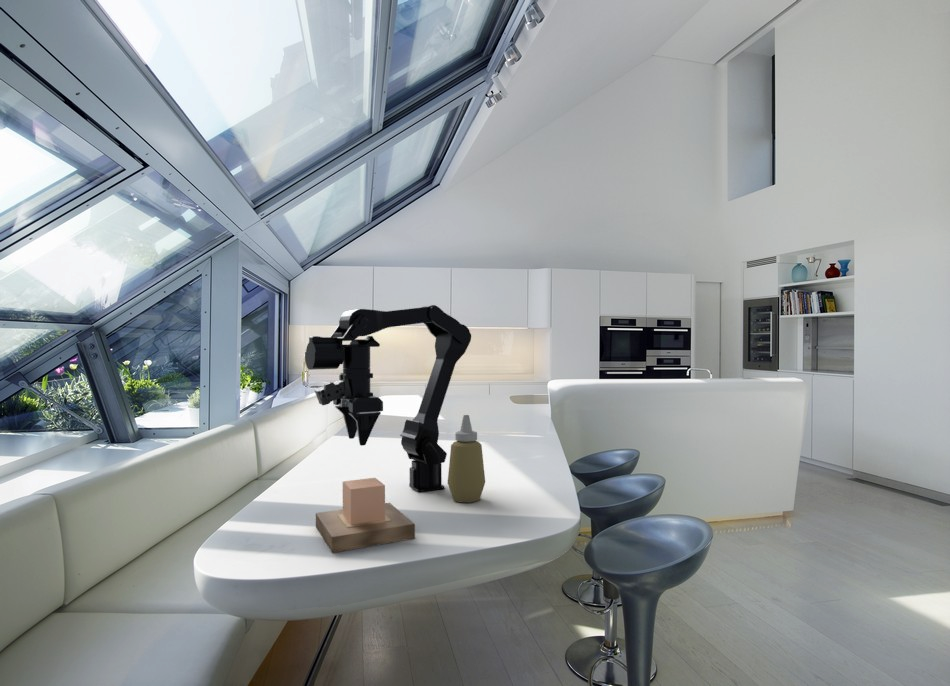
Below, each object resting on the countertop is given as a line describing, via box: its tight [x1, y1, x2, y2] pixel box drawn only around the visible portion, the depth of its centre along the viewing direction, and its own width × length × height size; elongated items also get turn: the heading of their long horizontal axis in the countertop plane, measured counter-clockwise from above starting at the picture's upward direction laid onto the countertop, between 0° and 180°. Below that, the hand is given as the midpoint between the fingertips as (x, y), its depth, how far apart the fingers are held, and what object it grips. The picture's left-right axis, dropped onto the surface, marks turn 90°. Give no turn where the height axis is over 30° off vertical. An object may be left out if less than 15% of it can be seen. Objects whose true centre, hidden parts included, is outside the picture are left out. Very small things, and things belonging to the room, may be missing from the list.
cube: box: [342, 477, 386, 525], centre depth 97 cm, size 6×6×6 cm
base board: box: [315, 502, 416, 554], centre depth 96 cm, size 14×14×3 cm
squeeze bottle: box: [447, 414, 486, 503], centre depth 117 cm, size 8×8×18 cm
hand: (356, 441), depth 116 cm, fingers open, 9 cm apart
